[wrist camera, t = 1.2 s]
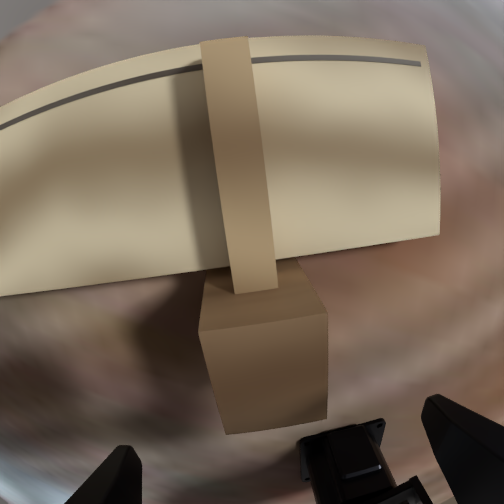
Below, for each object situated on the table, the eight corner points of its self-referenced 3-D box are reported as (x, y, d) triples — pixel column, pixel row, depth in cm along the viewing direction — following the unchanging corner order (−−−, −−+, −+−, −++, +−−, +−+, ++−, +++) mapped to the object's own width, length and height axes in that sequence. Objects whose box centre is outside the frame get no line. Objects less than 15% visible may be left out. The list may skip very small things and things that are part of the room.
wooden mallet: (298, 339, 17) (326, 418, 11) (224, 350, 17) (225, 434, 11) (269, 60, 12) (296, 8, 7) (179, 72, 12) (149, 25, 7)
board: (418, 224, 15) (439, 234, 13) (-2, 284, 15) (-21, 298, 13) (404, 54, 13) (425, 45, 11) (-33, 136, 12) (-55, 138, 10)
